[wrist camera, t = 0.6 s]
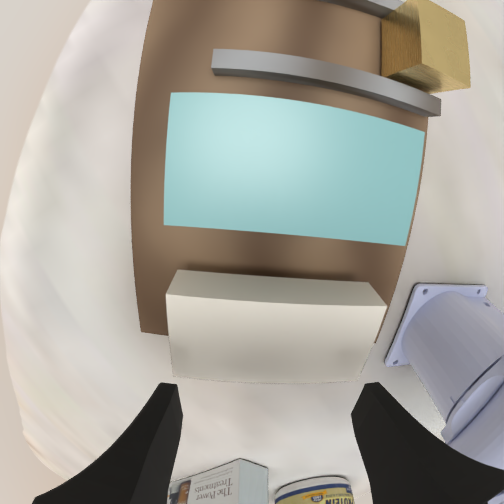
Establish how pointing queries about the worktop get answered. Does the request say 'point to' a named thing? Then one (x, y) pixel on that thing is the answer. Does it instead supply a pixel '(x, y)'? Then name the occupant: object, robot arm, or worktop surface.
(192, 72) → the panel
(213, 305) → the white rectangular block
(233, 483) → the skincare box
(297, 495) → the supplement tub
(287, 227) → the teal button
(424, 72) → the brass slider
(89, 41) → the worktop surface
